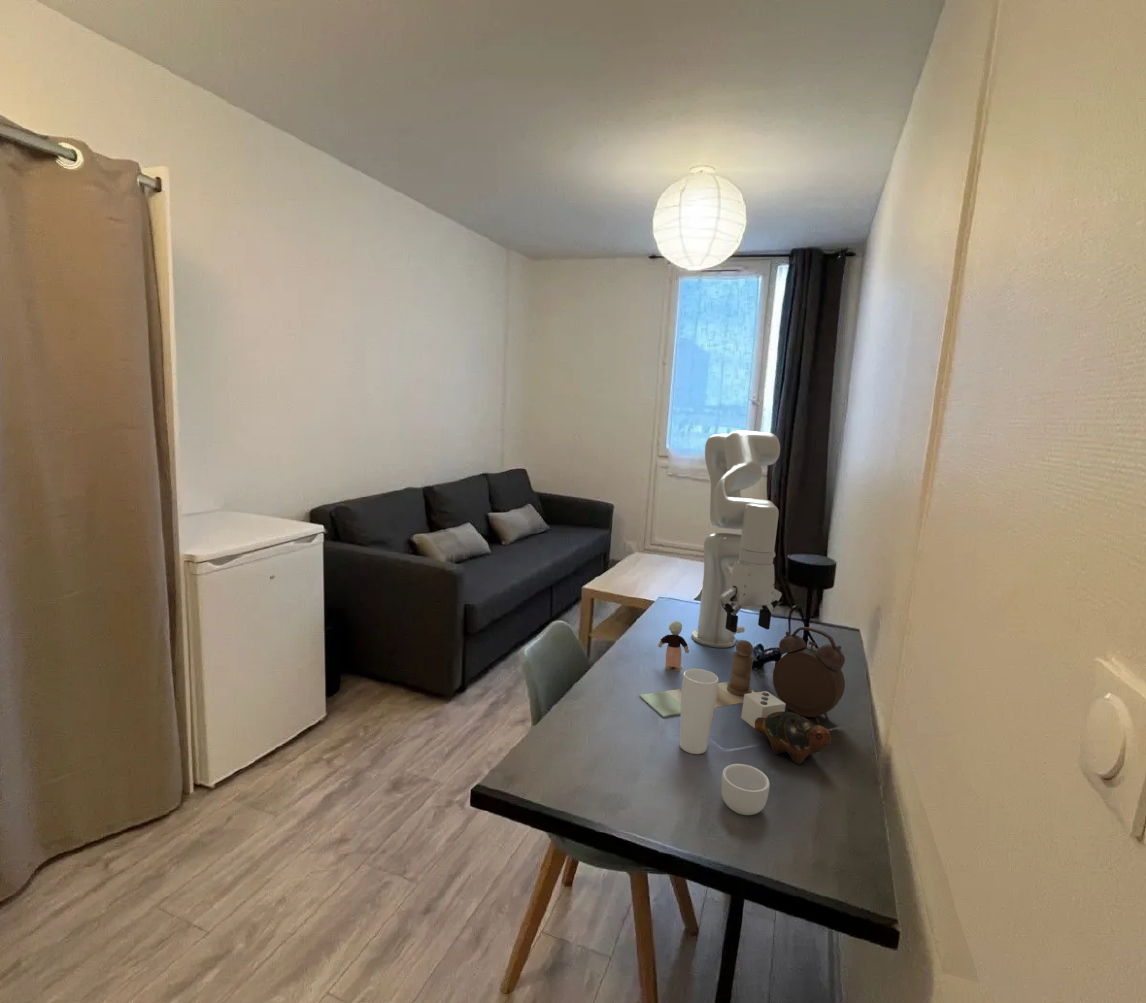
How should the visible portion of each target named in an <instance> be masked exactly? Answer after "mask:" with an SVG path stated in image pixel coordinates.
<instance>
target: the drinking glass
mask: <svg viewBox="0 0 1146 1003" xmlns="http://www.w3.org/2000/svg"><path fill="white" fill-rule="evenodd" d="M718 683H719V677H718V676H717V674H715V673H714V672H712V671H709V670H708V669H702V668H688V669H687V670H684V671H683V674H682V681H681V688H680V689H681V715H680V720H679V721H680V725H679V726H680V728H679V730H680V731H679V741H678V743H679V747H680V748H681V750H683V751H684V752H686V753H688V754H691V755H701V754H704V753H706V751H707V748H708V741H709V738H710V737H709V736H710V731H711V728H712V721H713V719H714V718H713V716H714V712H715V708H716V707H715V704H716V699H717V692H718Z"/></svg>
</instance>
